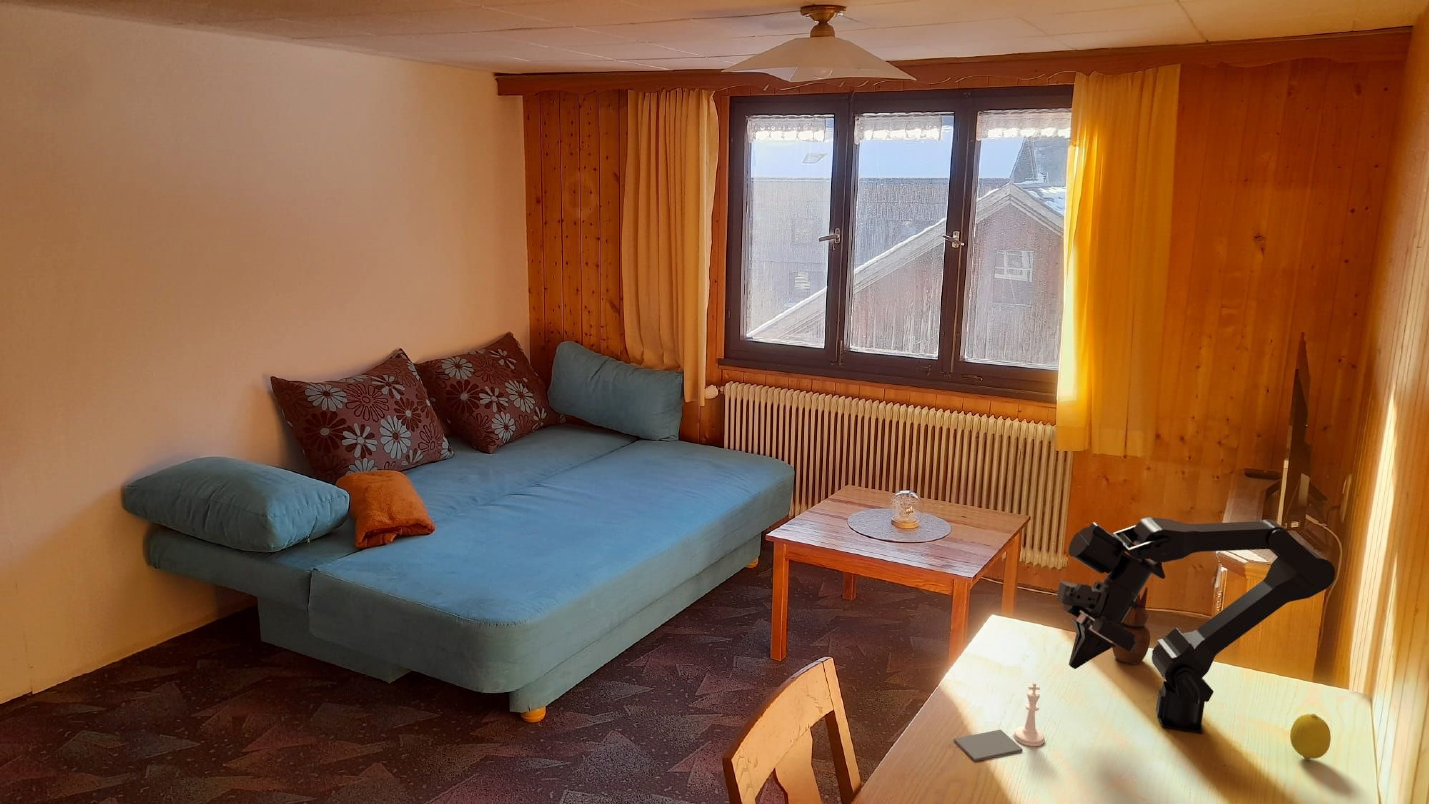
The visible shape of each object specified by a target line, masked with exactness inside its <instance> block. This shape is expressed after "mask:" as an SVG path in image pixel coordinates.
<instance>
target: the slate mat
mask: <svg viewBox="0 0 1429 804" xmlns="http://www.w3.org/2000/svg"><path fill="white" fill-rule="evenodd" d="M953 741H955V742H954V743H955V744H956V745H957V746H959V748H961V749H962V751H964V752H965V753H966V754H967V756H969V758H970V759H972V760H973V761H974V762H976V761H983V760H988V759H991V758H997V757H1001V756H1005V755H1010V754H1016V753H1020V752H1023V748H1022V747H1021V746H1020V745H1019V744H1018V743H1016V741H1014V740H1013V739H1012V738H1011V737H1010V736H1008V735H1007V734H1006V733H1005V732H1004V731H1003V729H996V730H991V731H986V732H980V733H975V734H971V735H965V736H961V737H960V736H959V737H956V738H953Z"/></svg>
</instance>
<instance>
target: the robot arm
mask: <svg viewBox="0 0 1429 804" xmlns="http://www.w3.org/2000/svg"><path fill="white" fill-rule="evenodd" d="M1254 550H1270V552H1271V553H1273V554H1274V555H1275V556H1276V558H1275V559H1274V560H1273V561H1272V563H1271V564H1270V567H1269V569H1268V572H1267V573H1266V576H1265V577H1264V579H1262V580H1261V581H1259V583H1257V584H1256V585H1255V586H1253V587H1252V588H1250V589H1249V590H1248V591H1246V592H1245V593H1243V594H1242V595H1241V596H1239V598H1237V599H1236V600H1234V601H1233V602H1231V604H1229V605H1227V606H1226V607H1225V608H1223V609H1222V610H1220V611H1219V612H1218V613H1217V614H1216V615H1214V616H1213V617H1212V618H1210V619H1209V620H1207V621H1206V622H1204V623H1203V624H1202V625H1201V626H1199V627H1198V628H1197V629H1195V630H1192V631H1189V632H1183V633H1182V631H1181V630H1180V629H1179V628H1178V627H1176V628H1173V629H1172V630H1171V631H1170V632H1169V633H1168V634H1167V635H1166V636H1164V637H1163V638H1160V639H1157V640H1156V642H1157V644H1156V645H1155V646H1154V648H1153V649H1152V654H1151V661H1152V664H1153V665H1154V667H1155V669H1156V670H1157V671H1158V673H1160V676H1161V677H1162V678H1163V679H1164V680H1163V682H1162V689H1158V690H1157V698H1156V704H1155V705H1156V707H1155V713H1156V716H1157V717H1156V718H1158V719H1159V721H1160V725H1161V727H1162V728H1165V729H1171V730H1177V731H1184V732H1191V733H1197V734H1203V733H1204V727H1203V725H1202V723H1203V716H1204V710H1205V704H1206V703H1208V702H1209V701H1210V700H1211V698H1212V696H1213V694H1214V690H1213V688H1212V687H1211V686H1210V685H1209V684H1208V682H1206V680H1205V679H1204V677H1205V676H1206V675H1207V674H1208V673H1209V671H1210V670H1211V669H1210V668H1211V666H1212V665H1213V662H1214V660H1215V658H1216V656H1218V654H1219V653H1221V652H1222V651H1223V650H1225V649H1226V648H1228V647H1229V646H1231V645H1232V644H1233V643H1234V642H1236V641H1237V640H1239V639H1240V638H1241V637H1243V636H1244V635H1245V634H1247V633H1248V632H1249V631H1251V630H1252V629H1254V628H1255V627H1256V626H1258V625H1259V624H1260V623H1262V622H1263V621H1264V620H1266V619H1267V618H1269V617H1270V616H1271V615H1272V614H1274V613H1276V612H1277V611H1278V610H1280V609H1281V608H1282V607H1284V606H1285V605H1287V604H1288V603H1291V602H1296V601H1301V600H1307V599H1310V598H1313V597H1315V596H1317V595H1319V594H1320V593H1322V592H1323V591H1326V590H1327V589H1329V588H1330V587H1331V586H1332V585H1333V584H1334V582H1335V577H1336V570H1335V569H1336V568H1335V566H1334V564H1333V563H1332V562H1330V560H1328V559H1327V558H1325V557H1324V556H1322V555H1321V554H1320V553H1318V552H1317V551H1315V550H1314V549H1313V548H1311V546H1310V547H1309V546H1308V545H1306V544H1301V543H1300V542H1299V541H1297V539H1296V538H1294V537H1293V536H1292V534H1290V532H1289V531H1288V530H1287V529H1286V527H1283V526H1282V525H1281V524H1280V523H1278V522H1277V521H1275V520H1273V519H1266V518H1265V519H1261V520H1256V521H1234V522H1233V521H1232V522H1230V521H1229V522H1213V523H1212V522H1208V523H1186V522H1185V523H1184V522H1181V521H1178V520H1174V519H1170V518H1169V519H1168V518H1161V517H1154V516H1149V517H1144V518H1141V519H1140V520H1139V521H1138V523H1136V525H1132V526H1128V527H1126V528H1124V529H1120V530H1117V531H1115V532H1112V533H1111V532H1109V531H1108V530H1106V529H1104V528H1103V527H1102V526H1101V525H1100V524H1098V523H1097V522H1095V521H1093V522H1091V524H1090V525H1089V526H1086V527H1084V528H1082V529H1080V530H1079V532H1076V533H1075V534H1074V535H1073V537H1072V538H1071V541H1070V543H1069V546H1068V549H1067V551H1068V552H1067V553H1068V555H1069V556H1070V557H1071V558H1073V559H1075V560H1076V561H1078V562H1080V563H1082V564H1083V565H1084V566H1086V567H1087V568H1089V569H1091V570H1093V571H1095V572H1096V573H1098V574H1104V573H1105V574H1106V576H1105V578H1104V579H1103V580H1102V581H1099V580H1098V581H1095V582H1094V583H1093V585H1092V586H1091V584H1087V583H1086V584H1085V583H1082V582H1077V583H1073V582H1068V581H1064V580H1063V581H1062V580H1060V581H1059V583H1058V589H1057V593H1056V598H1055V599H1056V601H1060V603H1061V604H1063V605H1064V606H1063V607H1062V609H1063V610H1064V612H1065V611H1066V612H1067V613H1068V614H1071V615H1072V616H1074V617H1076V618H1077V619H1075V618H1073V617H1072V618H1071V621H1072V623H1073V624H1074V625H1073V626H1074V627H1075V632H1076V634H1075V638H1074V643H1073V645H1072V646H1073V647H1072V649H1071V655H1070V658H1069V662H1068V665H1069V667H1070V668H1071V669H1073V670H1077V669H1079V668H1080V667H1081V666H1084V665H1085V664H1086V663H1088V662H1090V661H1091V660H1093V659H1094V658H1096V657H1097V656H1099V655H1102V654H1103V653H1105V652H1106V651H1109V650H1111V649H1112V648H1115V647H1116V645H1115V644H1117V645H1119V646H1120V647H1122V648H1124V649H1125V650H1127V651H1129V652H1130V653H1132V651H1133V650H1134V648H1135V646H1136V645H1137V639H1136V635H1134V634H1133V633H1131V632H1130V631H1128V630H1126V629H1125V628H1124V627H1125V625H1123V624H1122V621H1123V620H1124V618H1125V616H1126V615H1127V613H1128V611H1129V610H1130V608H1131V607H1132V608H1134V609H1136V608H1137V606H1138V605H1139V604H1137V603H1136V602H1135V600H1136V599H1137V596H1138V595H1139V594H1141V592H1142V590H1143V589H1144V587H1145V585H1146V584H1147V582H1148V580H1149V579H1150V578H1151V576H1152V575H1153V576H1156V577H1158V578H1159V579H1162V580H1164V579H1166V574H1165V571H1164V569H1163V563H1168V562H1174V561H1179V560H1183V559H1185V558H1187V557H1188V556H1191V555H1193V554H1197V553H1207V552H1208V553H1210V552H1212V553H1213V552H1229V551H1230V552H1231V551H1232V552H1234V551H1254ZM1113 642H1114V643H1115V644H1113ZM1205 702H1206V703H1205Z"/></svg>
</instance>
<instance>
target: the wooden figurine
mask: <svg viewBox="0 0 1429 804" xmlns="http://www.w3.org/2000/svg"><path fill="white" fill-rule="evenodd" d="M1148 589H1149V588H1148V587H1145V589H1144V591H1143V592H1142V595H1140V594H1141V593H1140V594H1139V595H1138V596H1137V599H1136V600H1135V602H1136V603H1137V604H1139V605H1138V606H1137V608H1136V609H1134V608H1132V607H1131V608H1130V610H1129V611H1128V613H1127V615H1126V616H1125V618H1124V620H1123V621H1122V624H1123V625H1125V627H1124V628H1125V629H1126V630H1128V631H1130V632H1131V633H1133V634H1134V635H1136V639H1137V645H1136V646H1135V648H1134V650H1133V651H1132V653H1130V652H1129V651H1127V650H1125V649H1124V648H1122V647H1120V646H1119V645H1117V644H1115V643H1114V642H1113V644H1115V645H1116V647H1115V648H1111V649H1112V652H1113V653H1112V654H1113V655H1114V657H1115V658H1116V659H1117V660H1118V661H1120V662H1123V663H1125V664H1133V665H1134V664H1140V663H1141V662H1143V660H1144V659H1145V658H1146V656H1147V653H1148V651H1149V648H1150V642H1151V637H1152V636H1151V631H1150V629H1149V628H1148V626H1147V625H1146V623H1147V622H1148V619H1149V618H1148V617H1149V613H1148V610H1147V609H1146V605H1147V598H1148V597H1147V596H1148Z"/></svg>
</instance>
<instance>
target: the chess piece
mask: <svg viewBox="0 0 1429 804" xmlns="http://www.w3.org/2000/svg"><path fill="white" fill-rule="evenodd" d="M1028 690H1029V691H1027V692H1026V696H1027V699H1028V700H1027V701H1028V703H1026V705H1025V706H1024V707H1025V709H1026V710H1028V712H1027V716H1026V721H1025V724H1024V725H1022V726H1018V727H1016V728H1015V729H1014V731H1013V738H1014V739H1015V741H1017V742H1018V743H1020V744H1022V745H1025V746H1028V747H1038V746H1041V745H1042V746H1043V744H1044V743H1045V742H1046V741H1045V734H1044V733H1043V731H1042V730H1040V729H1038V728H1037V727H1036V712H1038V711H1039V710H1040V707H1039V706H1038V705H1037V704H1038V701H1039V699H1040V698H1041V694H1040V692H1038V691H1040V690H1041V686H1040V685H1037V683H1036V682H1032V685H1028Z"/></svg>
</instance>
